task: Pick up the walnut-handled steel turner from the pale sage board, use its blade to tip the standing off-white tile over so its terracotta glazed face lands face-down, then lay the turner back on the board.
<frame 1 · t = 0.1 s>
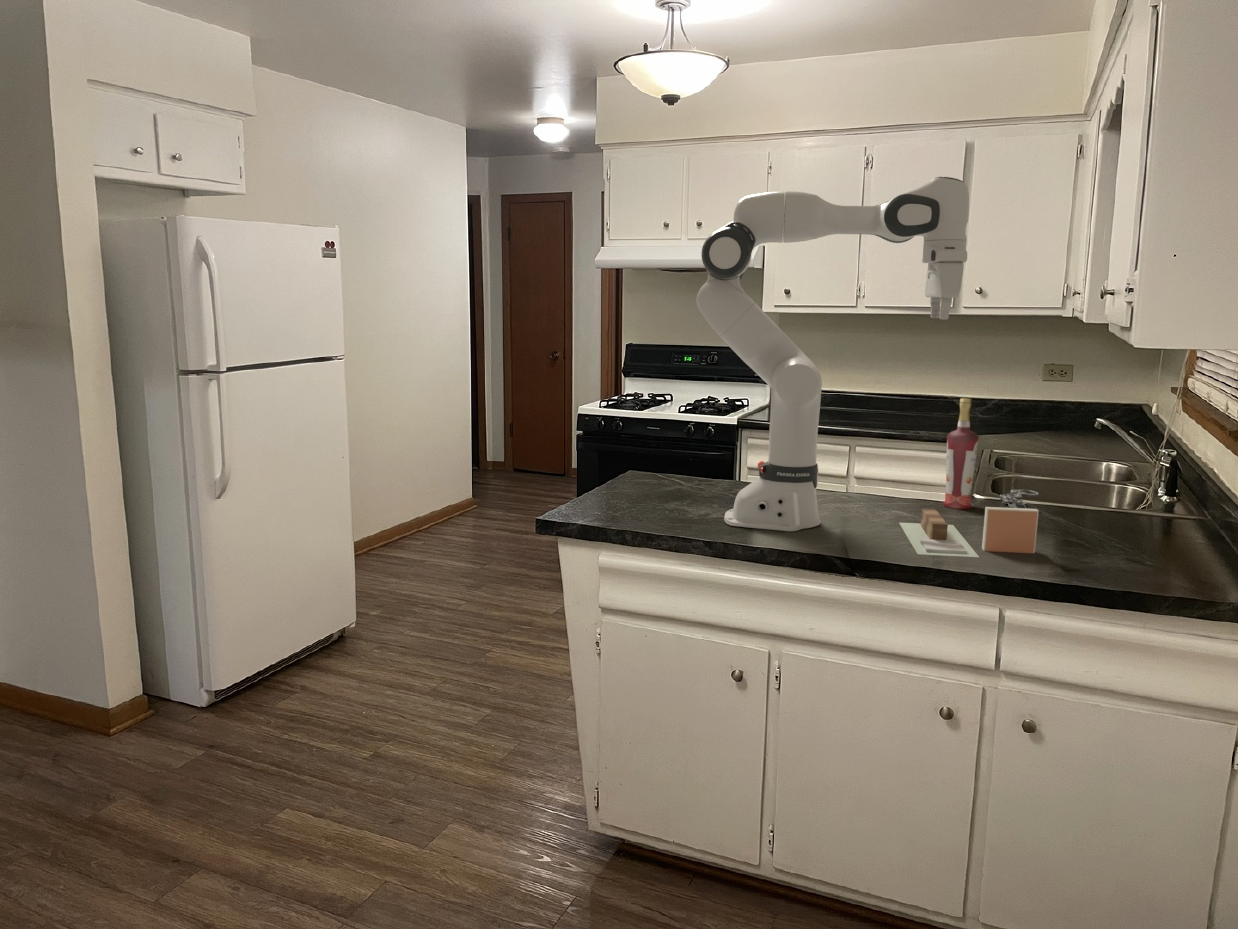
hand: (939, 318, 198), 48 cm above the worktop, tool pointing down, fingers open, 8 cm apart
grey piece: (1019, 504, 234), on the worktop
turner: (933, 533, 198), point 1 cm above the worktop, touching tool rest
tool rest: (936, 543, 194), on the worktop
liquor: (956, 510, 225), on the worktop
tile: (1007, 555, 185), on the worktop
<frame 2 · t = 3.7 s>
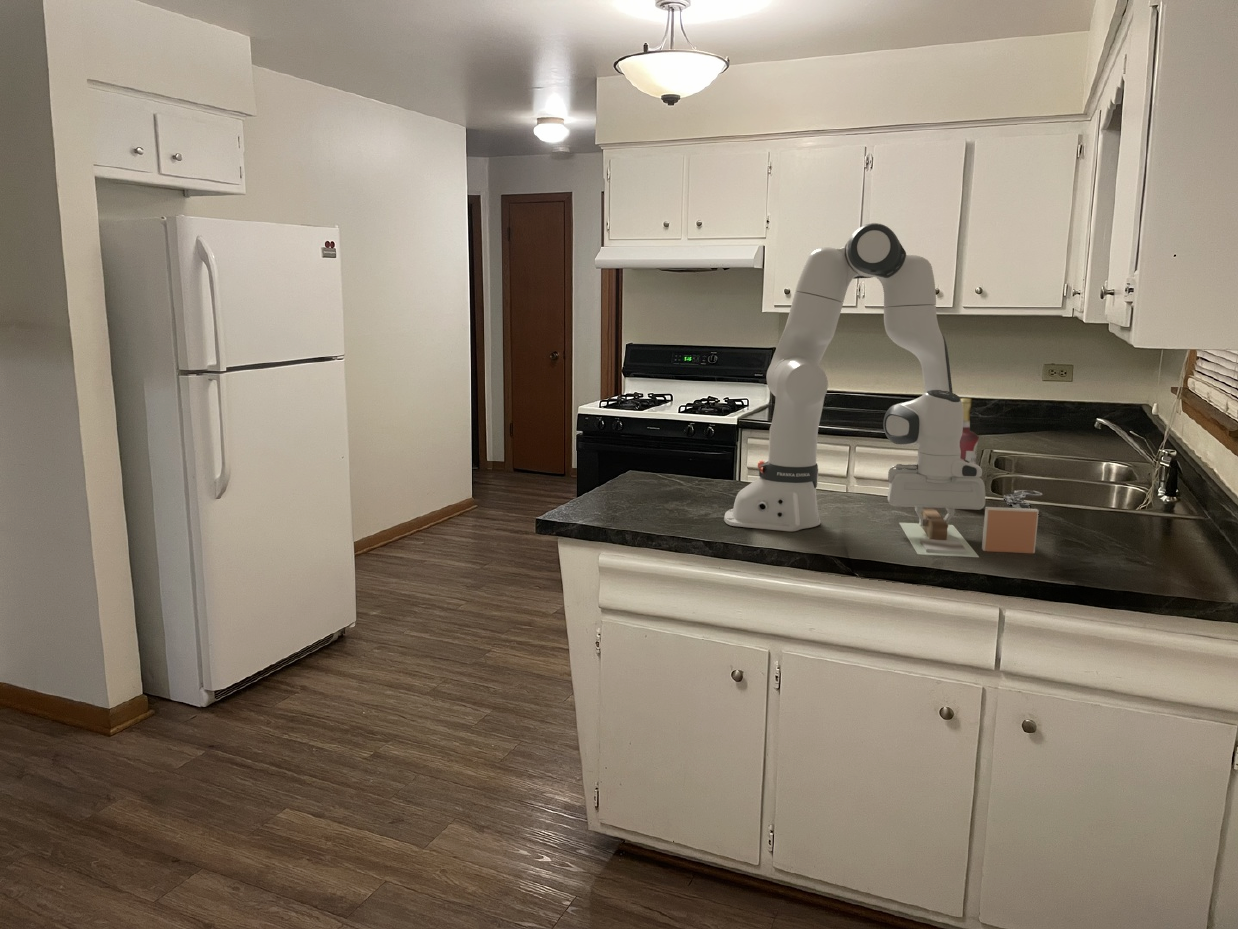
hand: (933, 526, 198), 3 cm above the worktop, tool pointing down, fingers closed on turner, 3 cm apart
turner: (933, 533, 198), point 1 cm above the worktop, touching gripper, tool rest
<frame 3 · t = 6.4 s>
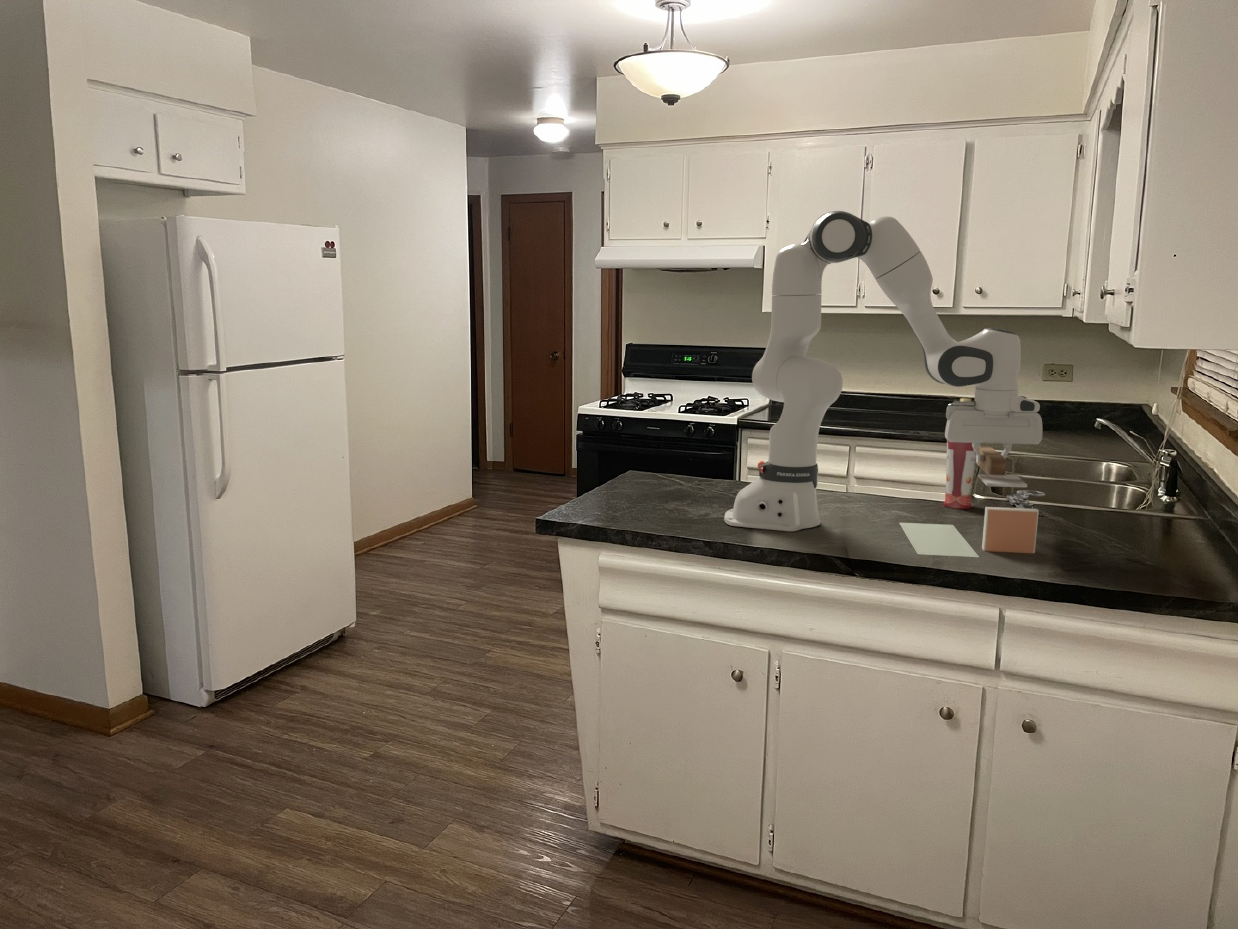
hand: (990, 462, 202), 16 cm above the worktop, tool pointing down, fingers closed on turner, 3 cm apart
turner: (989, 470, 202), point 14 cm above the worktop, touching gripper
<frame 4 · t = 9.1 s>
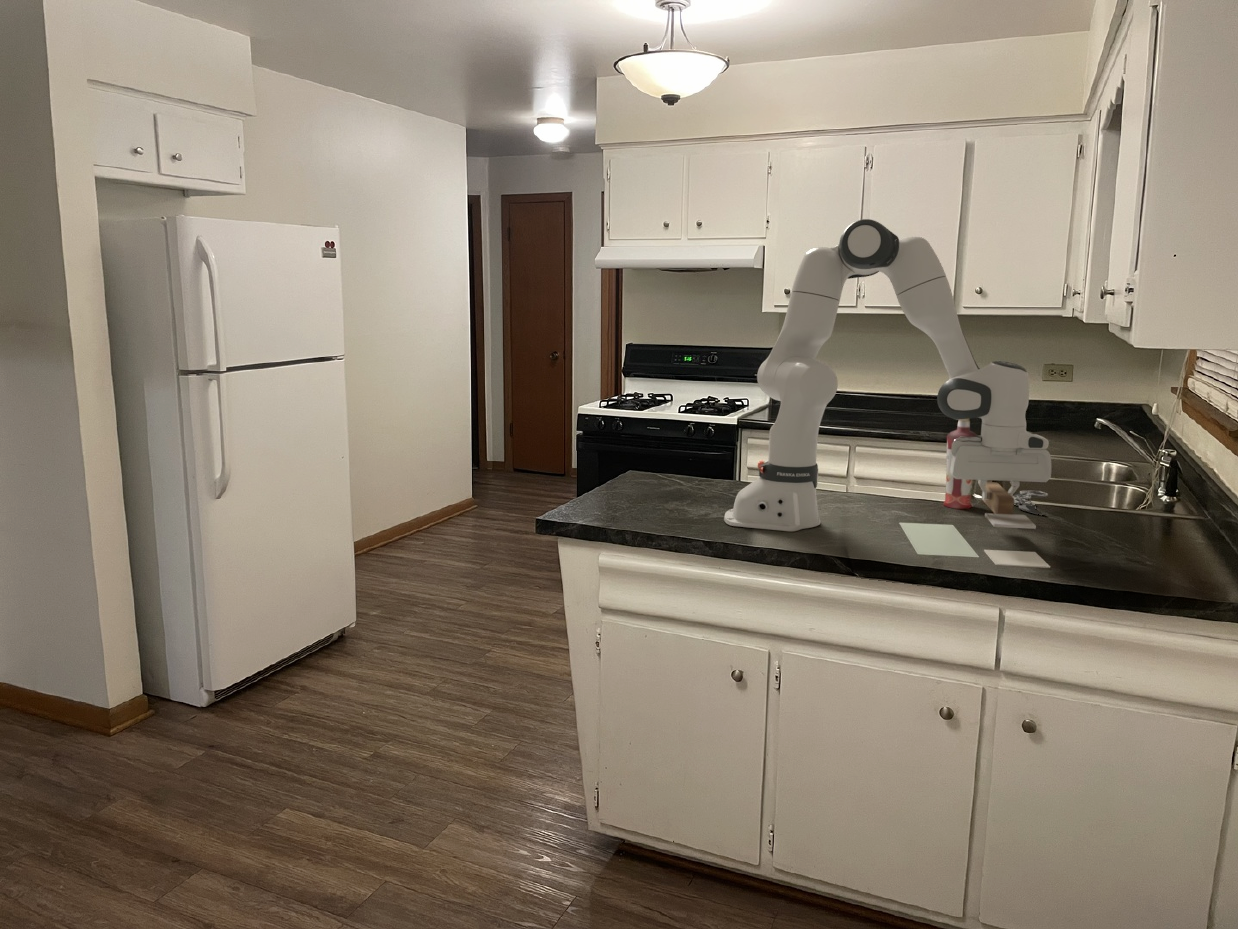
hand: (997, 500, 195), 9 cm above the worktop, tool pointing down, fingers closed on turner, 3 cm apart
turner: (996, 507, 195), point 7 cm above the worktop, touching gripper
tile: (1009, 554, 184), on the worktop, tilted 90°
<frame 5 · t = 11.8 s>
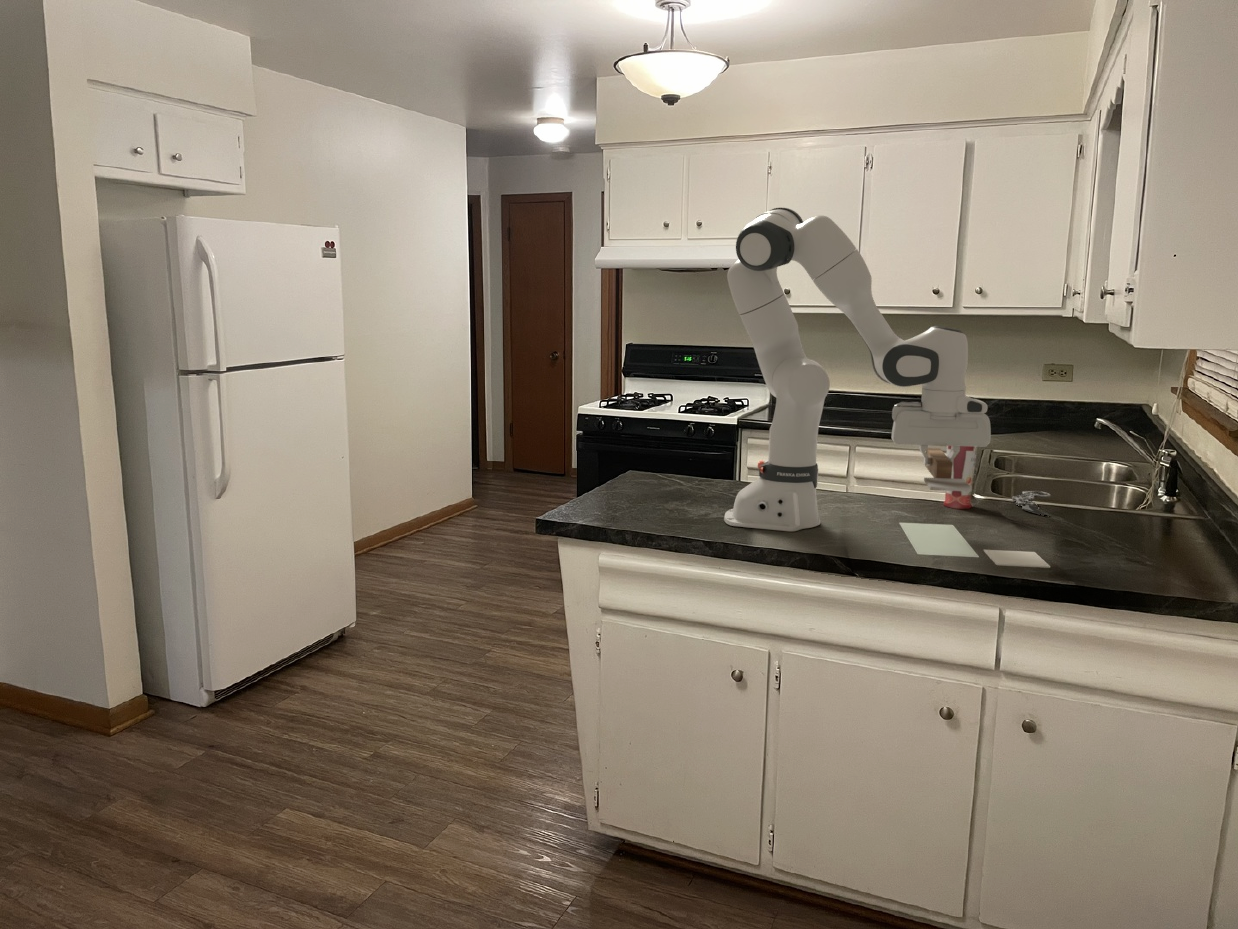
hand: (938, 465, 195), 16 cm above the worktop, tool pointing down, fingers closed on turner, 3 cm apart
turner: (937, 473, 196), point 15 cm above the worktop, touching gripper
when the fingers open (4 cm above the worktop, at t = 14.3 s): turner stays where it is, resting on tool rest.
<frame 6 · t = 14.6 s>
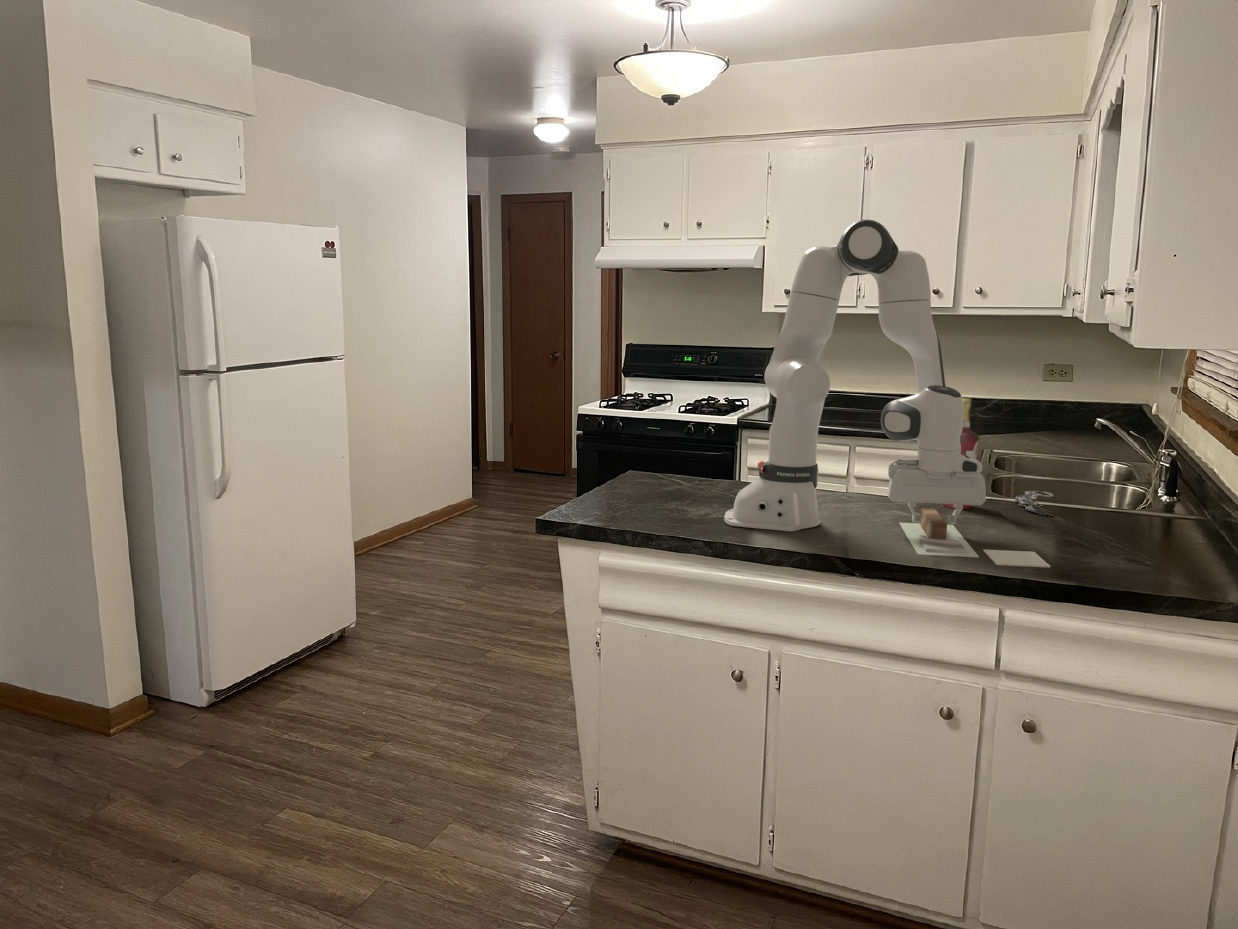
hand: (933, 522, 197), 4 cm above the worktop, tool pointing down, fingers open, 6 cm apart
turner: (932, 533, 198), point 1 cm above the worktop, touching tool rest
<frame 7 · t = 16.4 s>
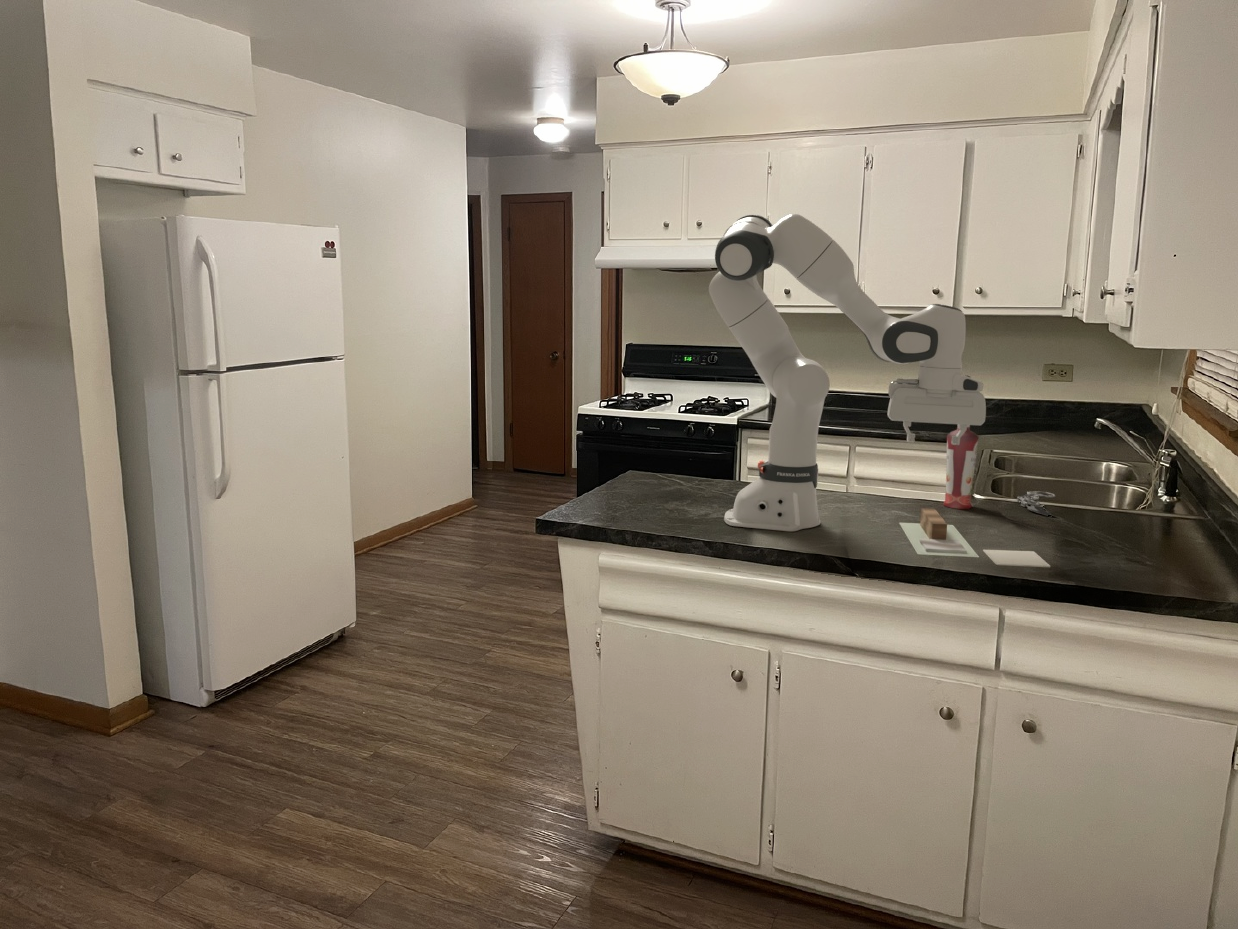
hand: (932, 443, 196), 21 cm above the worktop, tool pointing down, fingers open, 8 cm apart
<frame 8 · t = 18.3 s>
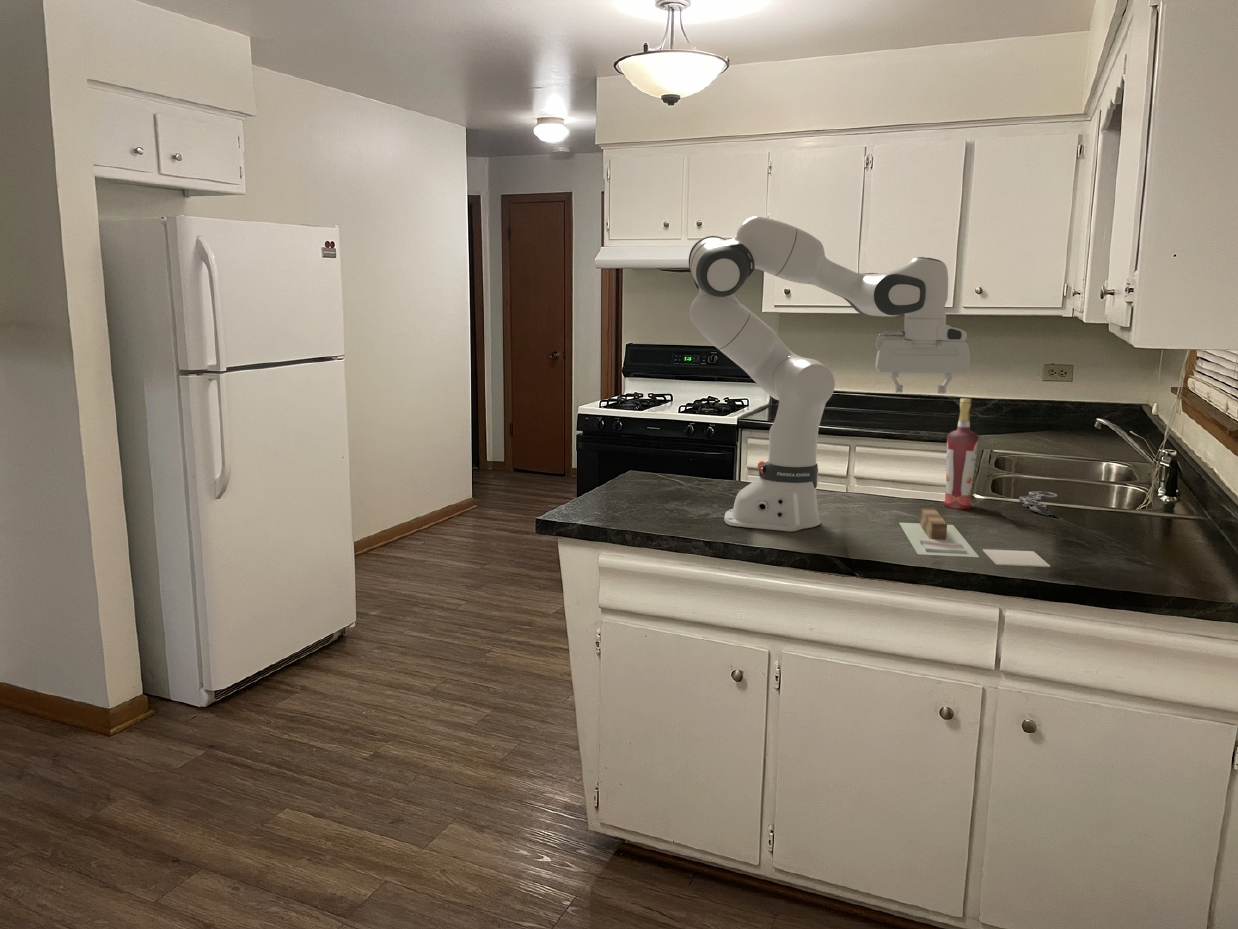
hand: (920, 392, 203), 31 cm above the worktop, tool pointing down, fingers open, 8 cm apart
at the end: tile tilted 90°; turner touching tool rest; the gripper is holding nothing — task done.
